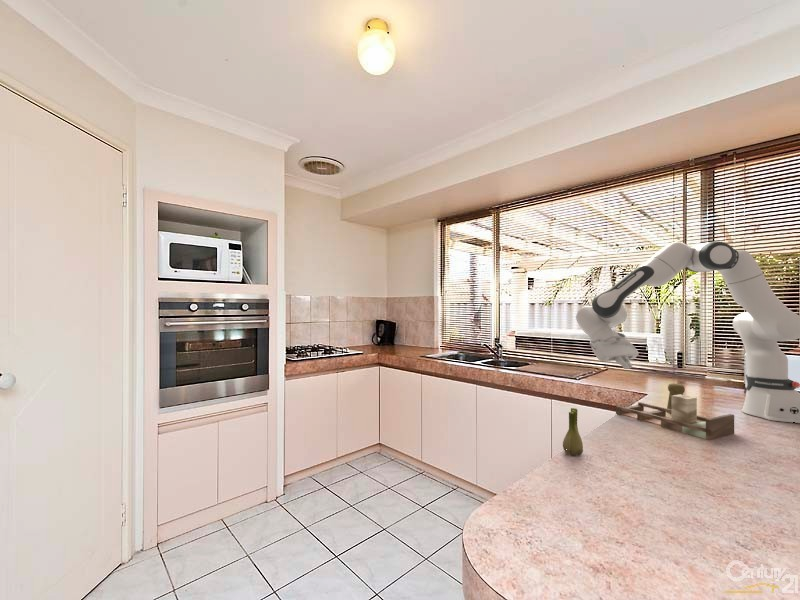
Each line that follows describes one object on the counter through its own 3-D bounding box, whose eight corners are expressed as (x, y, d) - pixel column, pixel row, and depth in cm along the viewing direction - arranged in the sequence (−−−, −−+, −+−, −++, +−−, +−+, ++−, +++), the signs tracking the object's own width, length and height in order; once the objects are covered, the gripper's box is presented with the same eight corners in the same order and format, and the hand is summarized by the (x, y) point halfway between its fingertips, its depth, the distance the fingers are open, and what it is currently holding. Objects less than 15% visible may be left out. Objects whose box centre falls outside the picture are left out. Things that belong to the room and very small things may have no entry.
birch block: (696, 421, 126) (696, 397, 126) (687, 423, 124) (687, 398, 124) (680, 417, 130) (680, 394, 130) (671, 419, 128) (671, 395, 128)
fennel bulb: (573, 458, 99) (573, 412, 99) (557, 452, 103) (557, 407, 103) (587, 455, 101) (587, 409, 102) (571, 448, 106) (572, 405, 106)
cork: (679, 411, 146) (679, 382, 147) (690, 415, 140) (689, 385, 141) (663, 410, 147) (662, 382, 147) (672, 415, 141) (672, 385, 141)
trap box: (734, 433, 120) (734, 414, 120) (709, 439, 114) (709, 419, 114) (639, 410, 147) (639, 394, 147) (615, 413, 141) (615, 397, 142)
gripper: (592, 335, 147) (616, 364, 138) (627, 334, 156) (651, 361, 147) (582, 345, 151) (605, 374, 142) (616, 344, 160) (640, 371, 151)
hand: (629, 367), depth 144 cm, fingers closed
